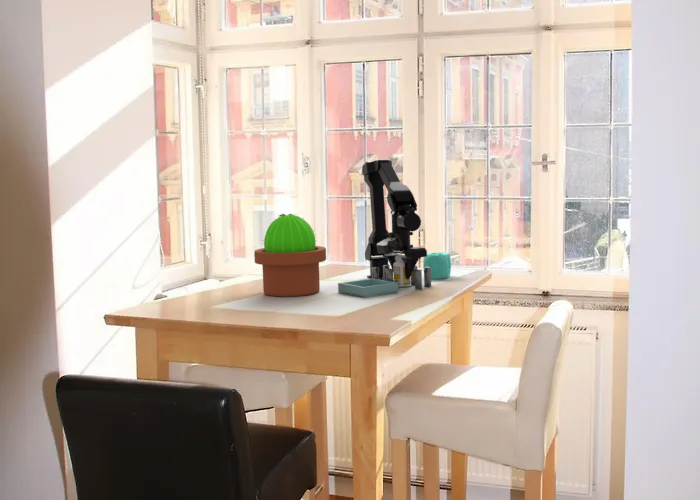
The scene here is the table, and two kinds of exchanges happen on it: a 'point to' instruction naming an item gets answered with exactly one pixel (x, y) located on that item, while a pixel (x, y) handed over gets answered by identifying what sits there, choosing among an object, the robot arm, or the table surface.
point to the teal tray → (368, 287)
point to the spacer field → (415, 276)
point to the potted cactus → (290, 258)
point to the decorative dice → (438, 265)
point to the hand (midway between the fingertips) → (402, 277)
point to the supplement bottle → (400, 272)
